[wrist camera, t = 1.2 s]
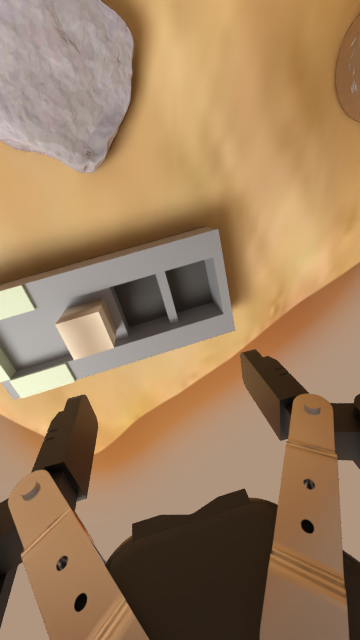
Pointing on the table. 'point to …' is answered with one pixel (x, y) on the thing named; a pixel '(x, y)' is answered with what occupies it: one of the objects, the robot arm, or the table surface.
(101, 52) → the stone block
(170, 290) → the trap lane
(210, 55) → the table surface
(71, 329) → the cube
